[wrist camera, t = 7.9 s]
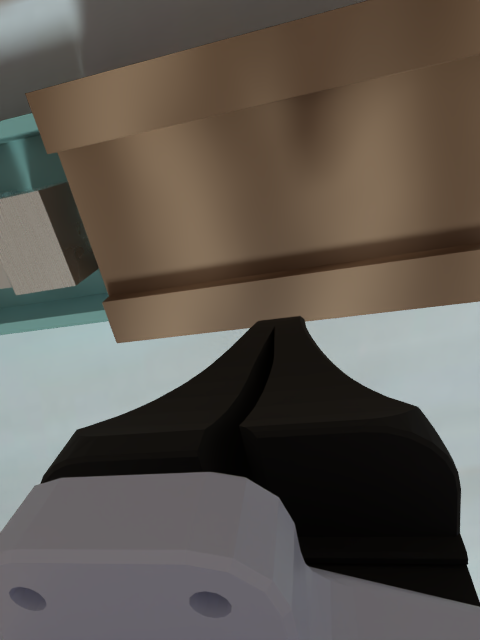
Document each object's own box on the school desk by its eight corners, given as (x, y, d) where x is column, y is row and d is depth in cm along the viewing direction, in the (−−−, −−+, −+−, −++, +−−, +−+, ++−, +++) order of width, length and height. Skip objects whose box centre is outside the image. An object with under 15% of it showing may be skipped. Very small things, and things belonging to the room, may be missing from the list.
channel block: (449, 3, 15) (501, -37, 11) (448, 260, 20) (485, 300, 15) (88, 97, 19) (25, 93, 15) (151, 301, 23) (116, 343, 19)
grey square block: (32, 188, 20) (86, 176, 20) (63, 266, 22) (114, 257, 21) (-27, 204, 17) (38, 190, 16) (16, 295, 19) (75, 285, 18)
